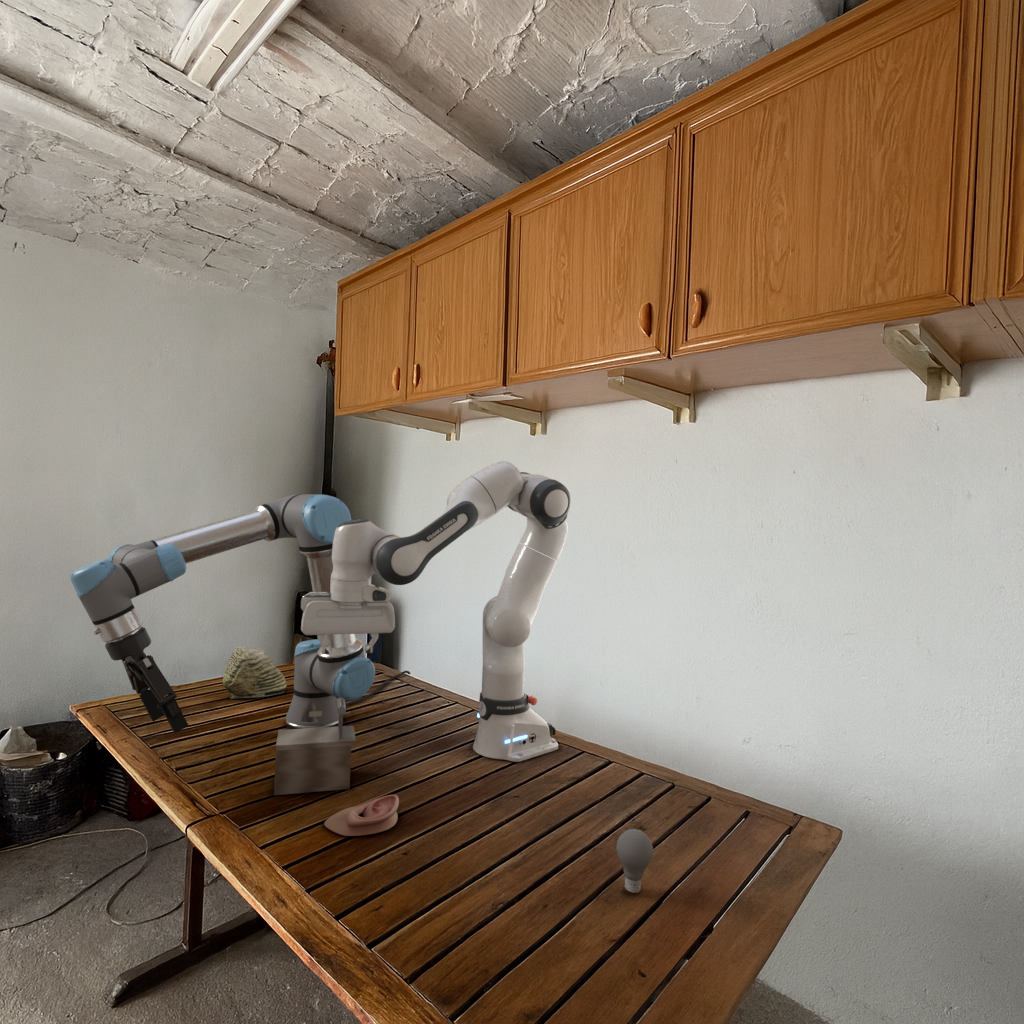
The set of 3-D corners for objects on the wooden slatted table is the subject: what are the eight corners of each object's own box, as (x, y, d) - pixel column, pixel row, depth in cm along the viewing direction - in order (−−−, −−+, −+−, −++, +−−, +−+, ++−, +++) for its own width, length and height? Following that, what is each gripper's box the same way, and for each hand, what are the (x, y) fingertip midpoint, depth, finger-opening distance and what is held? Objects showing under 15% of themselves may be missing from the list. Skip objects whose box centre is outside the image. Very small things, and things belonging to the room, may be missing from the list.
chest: (347, 771, 147) (349, 730, 146) (349, 789, 138) (351, 746, 138) (276, 776, 142) (278, 735, 142) (273, 795, 133) (275, 751, 133)
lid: (353, 730, 147) (354, 695, 147) (355, 745, 138) (356, 707, 138) (278, 734, 142) (279, 698, 142) (275, 750, 133) (277, 711, 133)
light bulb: (610, 879, 108) (613, 822, 108) (644, 879, 109) (647, 822, 109) (619, 902, 102) (622, 840, 102) (655, 901, 103) (658, 840, 103)
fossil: (218, 695, 195) (220, 647, 195) (278, 685, 208) (279, 640, 207) (228, 703, 189) (230, 653, 188) (289, 692, 201) (290, 645, 201)
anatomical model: (316, 810, 120) (344, 784, 131) (316, 831, 120) (344, 803, 131) (382, 821, 117) (405, 793, 128) (381, 842, 117) (404, 812, 128)
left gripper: (88, 638, 133) (133, 723, 139) (122, 650, 116) (172, 746, 121) (125, 621, 139) (167, 703, 144) (163, 629, 121) (209, 722, 126)
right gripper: (302, 594, 134) (299, 658, 135) (398, 593, 142) (394, 655, 142) (300, 589, 140) (297, 651, 141) (392, 589, 148) (389, 648, 148)
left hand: (169, 723), depth 133 cm, fingers open, 13 cm apart
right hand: (347, 653), depth 141 cm, fingers open, 8 cm apart
